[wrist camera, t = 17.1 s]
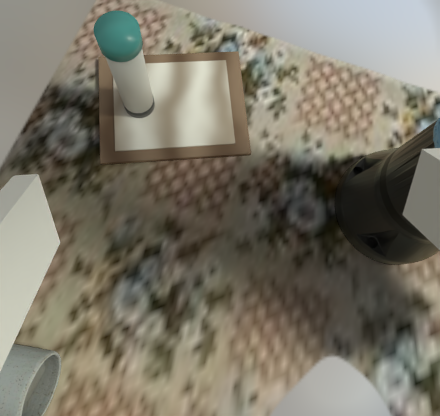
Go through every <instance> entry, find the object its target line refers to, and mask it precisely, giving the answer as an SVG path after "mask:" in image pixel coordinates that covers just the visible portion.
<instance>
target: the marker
mask: <svg viewBox="0 0 440 416" xmlns="http://www.w3.org/2000/svg"><path fill="white" fill-rule="evenodd" d="M94 35H95V37H96V40H97V42H98V45H99V47H100V50H101V52H102V54H103V55H104V56H105V57H106V60H107V62H108V65H109V68H110V70H111V73H112V75H113V78H114V80H115V83H116V86H117V88H118V91H119V93H120V96H121V99H122V101H123V105H124V107H125V110H126V112H127V113H128V114H129V115H130V116H132V117H135V118H144V117H146V116H148V115H150V114H151V113H152V111H153V110H154V107H155V102H154V98H153V94H152V90H151V86H150V82H149V77H148V73H147V68H146V64H145V59H144V55H143V50H142V45H143V43H142V37H141V33H140V28H139V24H138V22H137V20H136V19H135V18H134V17H133V16H132V15H131V14H129V13H126V12H123V11H111V12H108V13H105V14H103V15H102V16H101V17H100V18H99V19H98V20H97V21H96V23H95V26H94Z"/></svg>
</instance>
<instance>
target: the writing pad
mask: <svg viewBox="0 0 440 416" xmlns="http://www.w3.org/2000/svg"><path fill="white" fill-rule="evenodd" d="M144 59H145V64H146V68H147V73H148V77H149V82H150V86H151V90H152V94H153V98H154V102H155V107H154V110H153V111H152V113H151V114H150V115H148V116H146V117H144V118H135V117H132V116H130V115H129V114H128V113H127V112H126V110H125V107H124V105H123V101H122V99H121V96H120V93H119V91H118V88H117V86H116V83H115V80H114V78H113V75H112V73H111V70H110V68H109V65H108V62H107V60H106V57H99V122H100V164H101V165H106V164H121V163H136V162H152V161H167V160H183V159H198V158H213V157H229V156H244V155H251V150H250V142H249V134H248V126H247V118H246V109H245V101H244V93H243V85H242V77H241V69H240V61H239V53H238V52H215V53H190V54H164V55H144Z"/></svg>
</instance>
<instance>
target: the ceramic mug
mask: <svg viewBox="0 0 440 416" xmlns="http://www.w3.org/2000/svg"><path fill="white" fill-rule="evenodd" d="M60 370H61V357H60V355H59V354H58V353H57V352H56V351H51V350H45V349H40V348H34V347H29V346H23V345H17V344H13V345H12V348H11V350H10V352H9V354H8V356H7V358H6V360H5V363H4V365H3V367H2V369H1V371H0V416H43V415H44V413H45V411H46V410H47V408H48V406H49V404H50V402H51V400H52V398H53V395H54V392H55V389H56V387H57V384H58V380H59V376H60Z"/></svg>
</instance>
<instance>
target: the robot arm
mask: <svg viewBox="0 0 440 416" xmlns="http://www.w3.org/2000/svg"><path fill="white" fill-rule="evenodd" d="M335 211H336V216H337V220H338V223H339V225H340V228H341V230H342V231H343V233H344V235H345V236H346V238H347V239H348V240H349V242H350V243H351V244H352V245H353V246H354V247H355V248H356V249H357V250H359V251H360V252H361V253H363V254H364V255H366V256H367V257H369V258H371V259H373V260H376V261H378V262H382V263H386V264H393V265H399V264H408V263H414V262H419V261H422V260H424V259H427V258H429V257H431V256H433V255H434V254H436V253H437V252H438V251H440V118H439V119H438V120H437V121H436V122H434V123H433V124H431V125H430V126H429V127H427V128H426V129H424V130H423V131H421V132H420V133H419V134H417V135H416V136H414V137H413V138H412V139H410V140H409V141H407V142H406V143H405V144H403V145H402V146H400V147H399V148H394V149H389V150H383V151H378V152H374V153H372V154H369V155H367V156H365V157H363V158H362V159H360V160H359V161H357V162H356V163H355V164H354V165H353V166H351V167H350V168H349V169H348V170H347V171H346V172H345V174H344V175H343V176H342V178H341V180H340V182H339V184H338V187H337V190H336V195H335ZM59 244H60V240H59V237H58V234H57V231H56V228H55V224H54V221H53V218H52V215H51V212H50V209H49V206H48V203H47V199H46V196H45V193H44V190H43V187H42V184H41V181H40V178H39V175H38V174H30V175H14V176H13V177H12V178H11V179H10V180H9V181H8V182H7V183H6V185H5V186H4V187H3V188H2V189H1V190H0V371H1V369H2V367H3V365H4V363H5V360H6V358H7V356H8V354H9V352H10V350H11V348H12V345H13V343H14V341H15V339H16V337H17V335H18V332H19V330H20V328H21V326H22V324H23V322H24V320H25V317H26V315H27V313H28V311H29V309H30V307H31V304H32V302H33V300H34V298H35V296H36V294H37V292H38V289H39V287H40V285H41V283H42V281H43V279H44V276H45V274H46V272H47V270H48V268H49V266H50V264H51V261H52V259H53V257H54V255H55V253H56V251H57V248H58V246H59Z"/></svg>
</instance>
